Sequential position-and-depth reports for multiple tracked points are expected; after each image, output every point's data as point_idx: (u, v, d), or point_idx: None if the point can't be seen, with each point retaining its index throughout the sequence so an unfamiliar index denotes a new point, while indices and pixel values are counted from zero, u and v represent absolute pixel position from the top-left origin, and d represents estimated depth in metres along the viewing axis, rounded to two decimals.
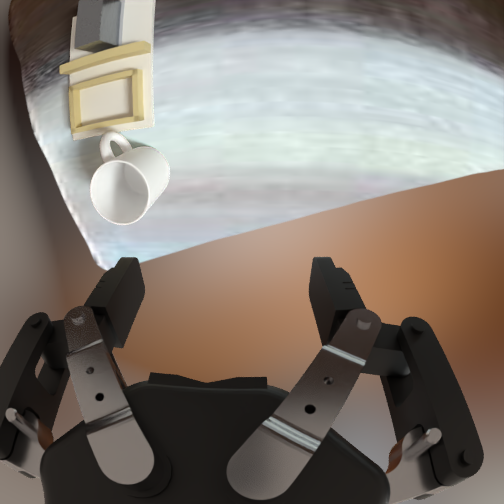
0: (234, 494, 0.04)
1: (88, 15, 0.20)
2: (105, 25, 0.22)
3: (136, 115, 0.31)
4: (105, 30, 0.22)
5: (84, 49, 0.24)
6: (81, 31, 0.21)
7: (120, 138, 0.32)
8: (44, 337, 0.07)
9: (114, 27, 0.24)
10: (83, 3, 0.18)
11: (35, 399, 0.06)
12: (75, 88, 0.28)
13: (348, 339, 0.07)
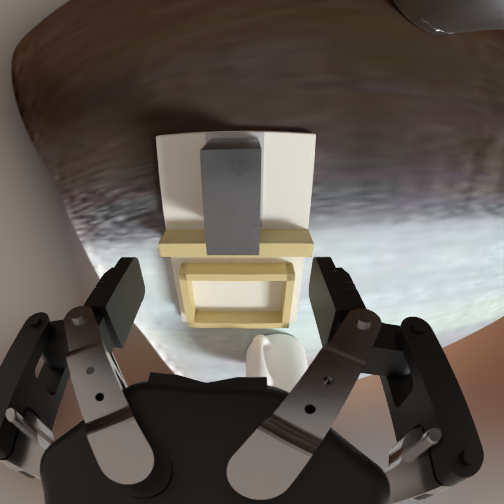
0: (234, 494, 0.04)
1: (230, 197, 0.19)
2: None
3: (286, 322, 0.31)
4: None
5: None
6: (218, 227, 0.20)
7: (263, 343, 0.32)
8: (44, 337, 0.07)
9: None
10: (213, 162, 0.17)
11: (35, 399, 0.06)
12: (191, 279, 0.27)
13: (348, 339, 0.07)
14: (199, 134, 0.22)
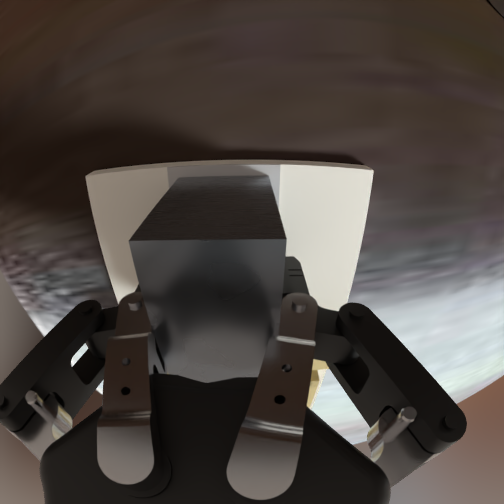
0: (243, 501, 0.04)
1: (213, 336, 0.08)
2: None
3: None
4: None
5: None
6: (194, 375, 0.09)
7: None
8: (97, 325, 0.08)
9: None
10: (164, 269, 0.07)
11: (64, 386, 0.06)
12: None
13: None
14: (156, 170, 0.12)
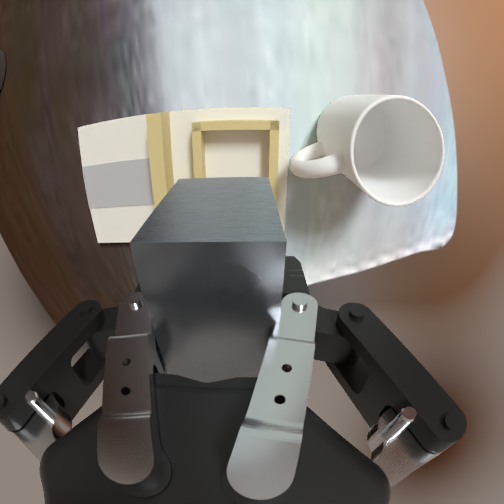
0: (243, 501, 0.04)
1: (213, 337, 0.08)
2: None
3: (269, 124, 0.22)
4: None
5: None
6: (195, 375, 0.10)
7: (302, 154, 0.23)
8: (97, 325, 0.08)
9: None
10: (165, 271, 0.07)
11: (64, 386, 0.06)
12: None
13: None
14: (91, 212, 0.28)
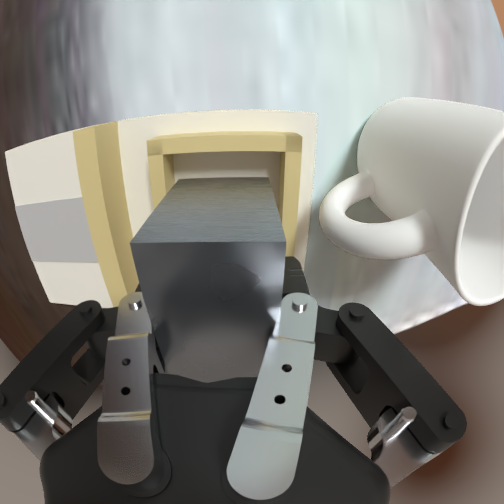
0: (243, 501, 0.04)
1: (213, 337, 0.08)
2: None
3: (284, 142, 0.12)
4: None
5: None
6: (195, 375, 0.10)
7: (340, 197, 0.13)
8: (97, 325, 0.08)
9: None
10: (165, 271, 0.07)
11: (64, 386, 0.06)
12: None
13: None
14: (35, 266, 0.18)
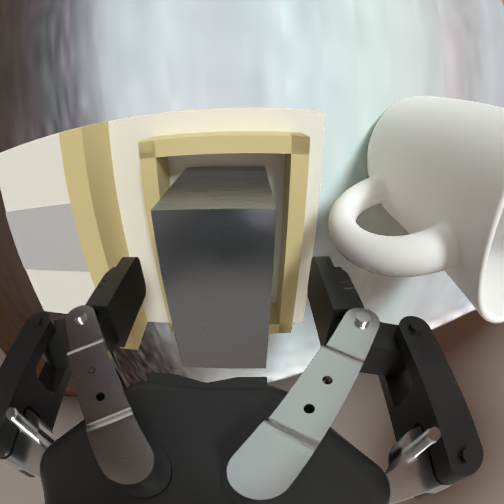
0: (234, 494, 0.04)
1: (216, 295, 0.10)
2: None
3: (290, 143, 0.11)
4: None
5: None
6: (198, 336, 0.11)
7: (351, 203, 0.12)
8: (45, 336, 0.07)
9: None
10: (179, 234, 0.09)
11: (36, 398, 0.06)
12: None
13: (346, 338, 0.07)
14: (28, 273, 0.17)
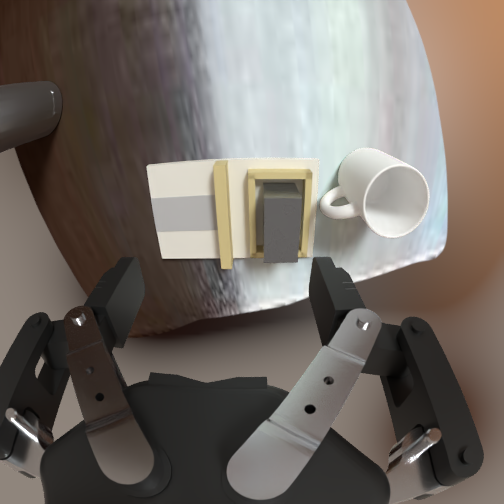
0: (234, 494, 0.04)
1: (282, 227, 0.31)
2: None
3: (305, 175, 0.32)
4: None
5: None
6: (273, 245, 0.32)
7: (328, 197, 0.32)
8: (44, 337, 0.07)
9: None
10: (272, 205, 0.29)
11: (35, 399, 0.06)
12: (254, 249, 0.37)
13: (348, 339, 0.07)
14: (158, 234, 0.38)
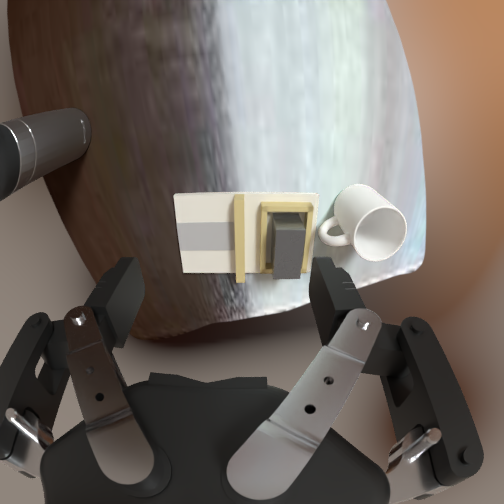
0: (234, 494, 0.04)
1: (289, 252, 0.39)
2: None
3: (307, 209, 0.40)
4: None
5: None
6: (281, 265, 0.40)
7: (325, 226, 0.41)
8: (44, 337, 0.07)
9: None
10: (282, 235, 0.37)
11: (35, 399, 0.06)
12: (264, 266, 0.45)
13: (348, 339, 0.07)
14: (181, 253, 0.45)
